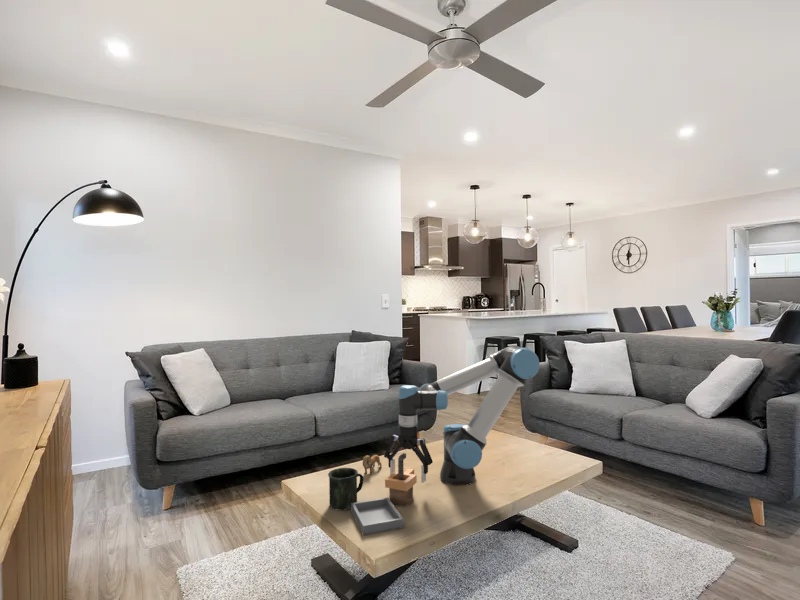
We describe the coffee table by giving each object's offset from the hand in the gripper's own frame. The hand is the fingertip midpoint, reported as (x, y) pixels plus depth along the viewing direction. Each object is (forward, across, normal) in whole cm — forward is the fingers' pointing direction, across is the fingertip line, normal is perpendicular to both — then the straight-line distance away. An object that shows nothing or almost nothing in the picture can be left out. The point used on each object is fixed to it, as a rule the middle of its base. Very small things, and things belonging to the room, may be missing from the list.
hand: (407, 478), depth 174 cm
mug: (+7, -17, -17) cm, 25 cm away
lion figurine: (+6, -24, +14) cm, 29 cm away
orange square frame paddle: (0, 0, -4) cm, 4 cm away
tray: (+6, -1, -24) cm, 25 cm away
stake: (+6, 0, -7) cm, 9 cm away
